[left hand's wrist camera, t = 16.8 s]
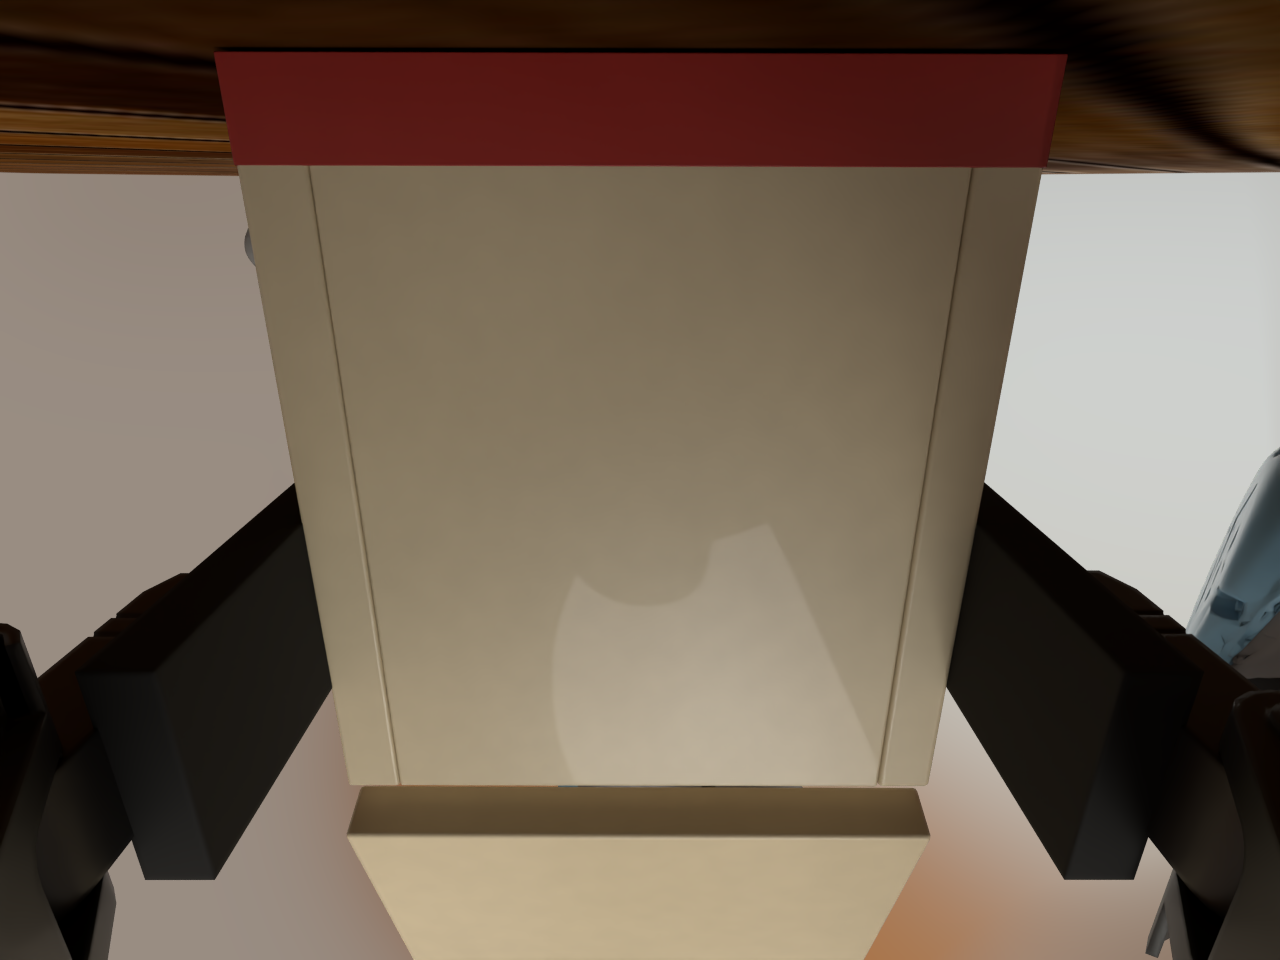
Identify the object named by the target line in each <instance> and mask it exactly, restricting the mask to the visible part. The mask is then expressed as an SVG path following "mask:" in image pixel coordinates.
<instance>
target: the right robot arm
mask: <svg viewBox="0 0 1280 960" xmlns="http://www.w3.org/2000/svg"><path fill="white" fill-rule="evenodd" d="M558 787H756V788H803V787H802V786H567V785H558Z"/></svg>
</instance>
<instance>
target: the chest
mask: <svg viewBox="0 0 1280 960" xmlns="http://www.w3.org/2000/svg"><path fill="white" fill-rule="evenodd" d="M1067 56H1068V54H964V53H628V52H293V51H214V57H215V62H216V68H217V73H218V79H219V84H220V90H221V95H222V101H223V106H224V112H225V117H226V123H227V128H228V134H229V139H230V145H231V150H232V155H233V161H234V165H236V166H238V172H239V177H240V183H241V189H242V194H243V199H244V205H245V211H246V216H247V222H248V227H249V233H250V238H251V244H252V249H253V255H254V260H255V266H256V272H257V277H258V283H259V288H260V294H261V299H262V305H263V310H264V316H265V321H266V327H267V332H268V338H269V343H270V349H271V354H272V360H273V366H274V371H275V377H276V382H277V388H278V393H279V399H280V404H281V410H282V415H283V421H284V426H285V432H286V437H287V443H288V449H289V454H290V460H291V465H292V471H293V476H294V482H295V487H296V493H297V498H298V504H299V509H300V515H301V520H302V523H303V529H304V534H305V540H306V545H307V551H308V556H309V562H310V567H311V573H312V578H313V584H314V589H315V594H316V600H317V605H318V611H319V616H320V622H321V627H322V633H323V638H324V644H325V649H326V655H327V660H328V666H329V671H330V676H331V682H332V692H333V697H334V703H335V709H336V714H337V719H338V725H339V731H340V736H341V742H342V747H343V753H344V758H345V764H346V769H347V775H348V780H349V784H351V785H398V784H399V783H400V782H401V784H402V785H567V786H876V785H877V782H878V784H879V785H882V786H925V785H927V784H928V781H929V776H930V770H931V765H932V760H933V754H934V749H935V743H936V738H937V733H938V727H939V722H940V717H941V711H942V706H943V700H944V695H945V690H946V684H947V679H948V674H949V668H950V663H951V657H952V652H953V647H954V641H955V636H956V631H957V625H958V620H959V614H960V609H961V604H962V598H963V593H964V588H965V582H966V577H967V571H968V566H969V561H970V555H971V550H972V545H973V539H974V534H975V528H976V523H977V518H978V512H979V507H980V502H981V496H982V491H983V485H984V480H985V475H986V469H987V464H988V459H989V453H990V448H991V442H992V437H993V432H994V426H995V421H996V415H997V410H998V405H999V399H1000V394H1001V389H1002V383H1003V378H1004V373H1005V367H1006V362H1007V356H1008V351H1009V345H1010V340H1011V335H1012V329H1013V324H1014V319H1015V313H1016V308H1017V303H1018V297H1019V292H1020V286H1021V281H1022V276H1023V270H1024V265H1025V260H1026V254H1027V249H1028V243H1029V238H1030V233H1031V227H1032V222H1033V217H1034V211H1035V206H1036V200H1037V195H1038V190H1039V184H1040V179H1041V174H1042V168H1046V167H1047V162H1048V157H1049V152H1050V146H1051V141H1052V136H1053V130H1054V125H1055V120H1056V114H1057V109H1058V104H1059V98H1060V93H1061V88H1062V82H1063V77H1064V72H1065V66H1066V61H1067Z"/></svg>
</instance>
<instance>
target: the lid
mask: <svg viewBox="0 0 1280 960" xmlns="http://www.w3.org/2000/svg"><path fill="white" fill-rule="evenodd" d="M347 838H348V840H349V842H350V844H351V845H352V847H353V849H354V851H355V853H356V855H357V856H358V858H359V860H360V862H361V864H362V866H363V868H364V869H365V871H366V873H367V875H368V877H369V879H370V880H371V882H372V884H373V886H374V888H375V890H376V891H377V893H378V895H379V897H380V899H381V901H382V902H383V904H384V906H385V908H386V910H387V912H388V914H389V915H390V917H391V919H392V921H393V923H394V925H395V926H396V928H397V930H398V932H399V934H400V936H401V937H402V939H403V941H404V943H405V945H406V947H407V948H408V950H409V952H410V954H411V956H412V958H413V960H864V958H865V956H866V954H867V953H868V951H869V949H870V947H871V945H872V944H873V942H874V940H875V938H876V936H877V935H878V933H879V931H880V929H881V927H882V925H883V924H884V922H885V920H886V918H887V916H888V914H889V913H890V911H891V909H892V907H893V905H894V904H895V902H896V900H897V898H898V896H899V895H900V893H901V891H902V889H903V887H904V885H905V884H906V882H907V880H908V878H909V876H910V875H911V873H912V871H913V869H914V867H915V865H916V864H917V862H918V860H919V858H920V856H921V855H922V853H923V851H924V849H925V847H926V845H927V844H928V842H929V840H930V833H929V829H928V826H927V823H926V819H925V816H924V813H923V810H922V806H921V803H920V799H919V796H918V793H917V791H916V789H914V788H756V787H408V786H405V787H404V786H365V787H362V788H361V790H360V792H359V796H358V799H357V802H356V805H355V809H354V812H353V815H352V818H351V822H350V825H349V828H348V832H347Z"/></svg>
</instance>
